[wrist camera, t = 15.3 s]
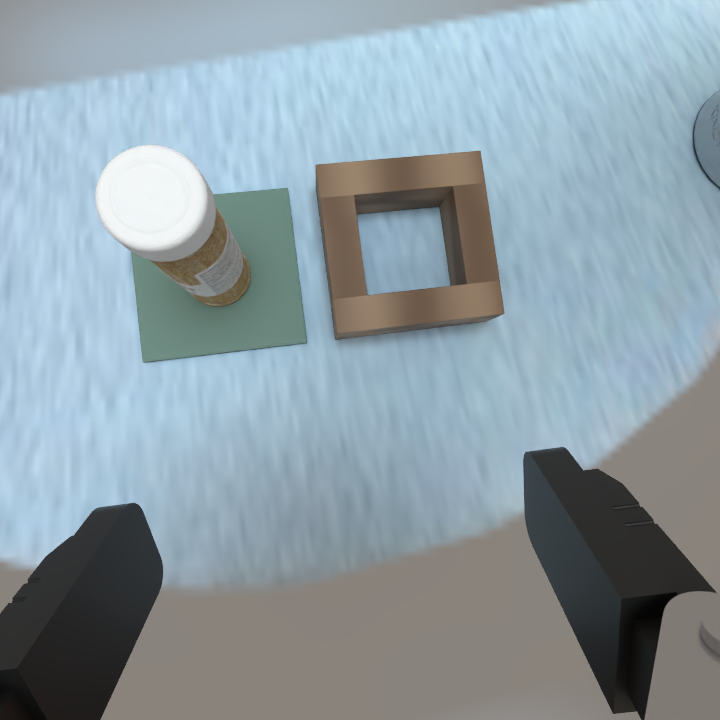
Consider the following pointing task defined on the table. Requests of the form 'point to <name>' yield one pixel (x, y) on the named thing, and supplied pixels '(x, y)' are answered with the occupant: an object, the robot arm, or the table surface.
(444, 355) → the table surface
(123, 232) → the sprinkles bottle
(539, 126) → the table surface
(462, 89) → the table surface
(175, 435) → the table surface
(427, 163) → the keeper collar
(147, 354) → the rubber mat
